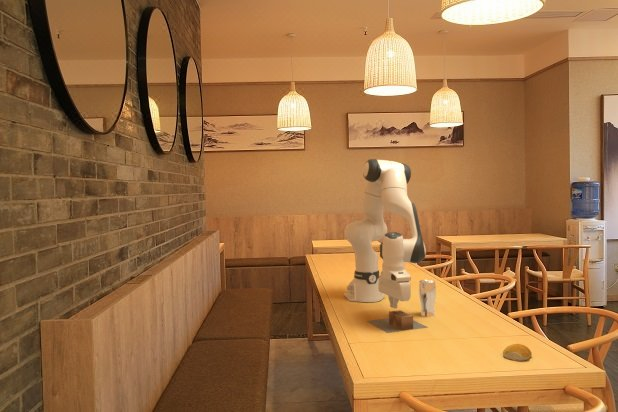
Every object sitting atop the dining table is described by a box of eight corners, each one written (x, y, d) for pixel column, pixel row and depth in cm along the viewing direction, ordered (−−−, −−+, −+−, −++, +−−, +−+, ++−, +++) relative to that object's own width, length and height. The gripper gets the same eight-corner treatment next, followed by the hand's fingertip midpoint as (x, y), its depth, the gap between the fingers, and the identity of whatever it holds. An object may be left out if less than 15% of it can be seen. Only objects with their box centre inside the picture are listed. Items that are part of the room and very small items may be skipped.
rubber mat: (366, 322, 210) (366, 321, 210) (404, 317, 216) (404, 316, 216) (387, 334, 193) (387, 332, 193) (428, 328, 199) (428, 327, 199)
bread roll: (533, 355, 168) (533, 343, 167) (527, 363, 160) (527, 350, 160) (507, 350, 172) (507, 339, 172) (499, 358, 165) (499, 346, 165)
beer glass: (424, 319, 213) (423, 283, 212) (416, 315, 220) (415, 280, 219) (439, 317, 215) (438, 282, 214) (431, 313, 222) (430, 279, 221)
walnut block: (388, 311, 205) (401, 317, 195) (399, 310, 206) (413, 316, 197) (389, 323, 205) (401, 330, 195) (400, 322, 207) (413, 328, 197)
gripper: (374, 269, 214) (374, 302, 214) (399, 278, 194) (399, 314, 195) (387, 268, 216) (388, 301, 216) (413, 277, 196) (413, 312, 197)
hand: (393, 307), depth 206 cm, fingers closed
